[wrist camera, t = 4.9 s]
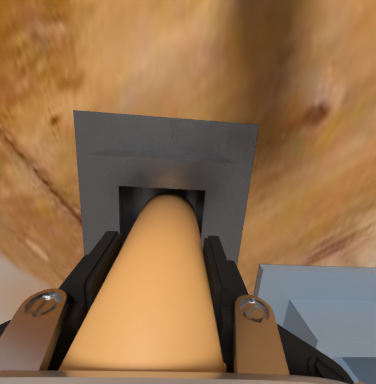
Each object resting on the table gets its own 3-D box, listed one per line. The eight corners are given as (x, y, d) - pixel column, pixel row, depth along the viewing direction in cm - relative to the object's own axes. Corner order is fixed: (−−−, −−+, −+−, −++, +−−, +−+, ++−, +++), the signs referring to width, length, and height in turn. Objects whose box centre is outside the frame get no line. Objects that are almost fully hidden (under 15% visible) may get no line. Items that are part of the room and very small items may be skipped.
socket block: (404, 268, 24) (475, 310, 19) (360, 375, 29) (405, 435, 23) (259, 264, 23) (286, 307, 17) (238, 376, 28) (253, 439, 22)
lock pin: (198, 193, 16) (312, 585, 2) (194, 244, 17) (247, 701, 3) (140, 190, 15) (-155, 604, 2) (140, 242, 16) (-40, 722, 3)
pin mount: (254, 125, 19) (288, 120, 13) (232, 271, 23) (250, 315, 17) (78, 111, 18) (31, 100, 12) (89, 267, 22) (58, 313, 16)
